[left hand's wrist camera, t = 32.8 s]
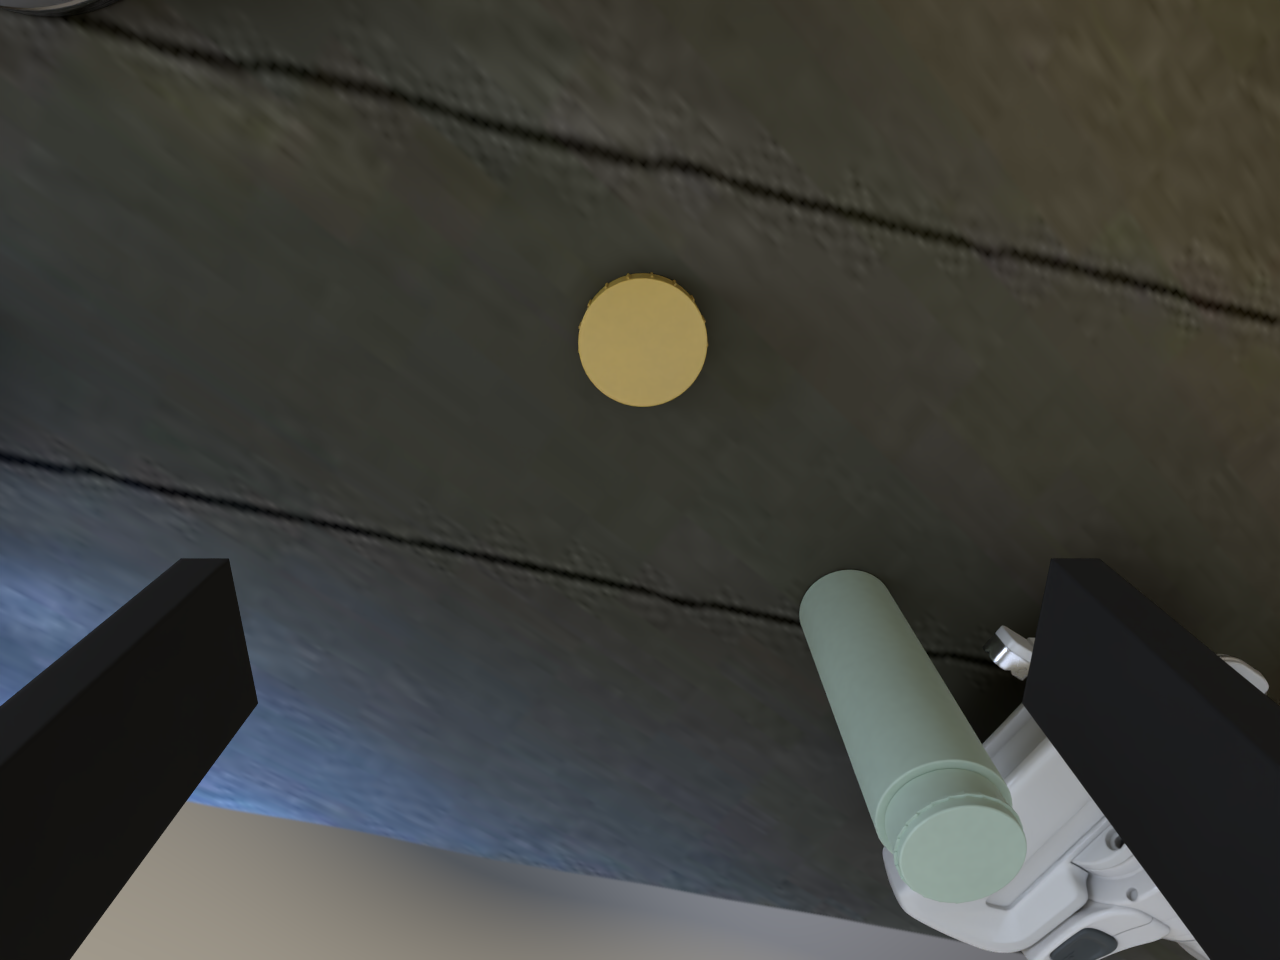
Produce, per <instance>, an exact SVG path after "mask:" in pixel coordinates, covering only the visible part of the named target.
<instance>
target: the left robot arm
mask: <svg viewBox="0 0 1280 960" xmlns="http://www.w3.org/2000/svg"><path fill="white" fill-rule="evenodd" d="M116 1H118V0H0V9H4V10H8V11H12V12H17V13H21V14H27V15H35V16H53V17H60V16H70V15H78V14H82V13H87V12H91V11H94V10H97V9H100V8H103V7H106V6H108V5H110V4H112V3H114V2H116ZM257 704H258V701H257V696H256V691H255V686H254V681H253V676H252V671H251V666H250V661H249V656H248V651H247V646H246V641H245V636H244V631H243V626H242V621H241V616H240V611H239V606H238V602H237V597H236V592H235V587H234V582H233V577H232V572H231V567H230V562H229V559H180V560H179V561H177V562H176V563H175V564H174V565H172V566H171V567H170V568H169V569H168V570H166V571H165V572H164V573H163V574H161V575H160V576H159V577H158V578H157V579H155V580H154V581H153V582H152V583H150V584H149V585H148V586H147V587H146V588H144V589H143V590H142V591H141V592H139V593H138V594H137V595H136V596H135V597H133V598H132V599H131V600H130V601H128V602H127V603H126V604H125V605H124V606H122V607H121V608H120V609H119V610H117V611H116V612H115V613H114V614H113V615H111V616H110V617H109V618H108V619H106V620H105V621H104V622H103V623H102V624H100V625H99V626H98V627H97V628H95V629H94V630H93V631H92V632H91V633H89V634H88V635H87V636H86V637H84V638H83V639H82V640H81V641H80V642H78V643H77V644H76V645H75V646H73V647H72V648H71V649H70V650H69V651H67V652H66V653H65V654H64V655H62V656H61V657H60V658H59V659H58V660H56V661H55V662H54V663H53V664H51V665H50V666H49V667H48V668H47V669H45V670H44V671H43V672H42V673H40V674H39V675H38V676H37V677H36V678H34V679H33V680H32V681H31V682H29V683H28V684H27V685H26V686H25V687H23V688H22V689H21V690H20V691H18V692H17V693H16V694H15V695H14V696H12V697H11V698H10V699H9V700H7V701H6V702H5V703H4V704H3V705H1V706H0V960H70V959H71V957H72V956H73V955H74V953H75V952H76V951H77V949H78V948H79V947H80V945H81V944H82V942H83V941H84V940H85V938H86V937H87V936H88V934H89V933H90V932H91V930H92V929H93V927H94V926H95V925H96V923H97V922H98V921H99V919H100V918H101V917H102V915H103V914H104V912H105V911H106V910H107V908H108V907H109V906H110V904H111V903H112V902H113V900H114V899H115V897H116V896H117V895H118V893H119V892H120V891H121V889H122V888H123V887H124V885H125V884H126V883H127V881H128V880H129V878H130V877H131V876H132V874H133V873H134V872H135V870H136V869H137V868H138V866H139V865H140V863H141V862H142V861H143V859H144V858H145V857H146V855H147V854H148V853H149V851H150V850H151V848H152V847H153V846H154V844H155V843H156V842H157V840H158V839H159V838H160V836H161V835H162V833H163V832H164V831H165V829H166V828H167V827H168V825H169V824H170V823H171V821H172V820H173V818H174V817H175V816H176V814H177V813H178V812H179V810H180V809H181V808H182V806H183V805H184V803H185V802H186V801H187V799H188V798H189V797H190V795H191V794H192V793H193V791H194V790H195V788H196V787H197V786H198V784H199V783H200V782H201V780H202V779H203V778H204V776H205V775H206V774H207V772H208V771H209V769H210V768H211V767H212V765H213V764H214V763H215V761H216V760H217V759H218V757H219V756H220V754H221V753H222V752H223V750H224V749H225V748H226V746H227V745H228V744H229V742H230V741H231V739H232V738H233V737H234V735H235V734H236V733H237V731H238V730H239V729H240V727H241V726H242V724H243V723H244V722H245V720H246V719H247V718H248V716H249V715H250V714H251V712H252V711H253V709H254V708H255V707H256V705H257ZM1022 704H1023V705H1024V707H1025V708H1026V709H1027V711H1028V712H1029V714H1030V715H1031V716H1032V718H1033V719H1034V720H1035V722H1036V723H1037V724H1038V726H1039V727H1040V729H1041V730H1042V731H1043V733H1044V734H1045V735H1046V737H1047V738H1048V739H1049V741H1050V742H1051V744H1052V745H1053V746H1054V748H1055V749H1056V750H1057V752H1058V753H1059V754H1060V756H1061V757H1062V759H1063V760H1064V761H1065V763H1066V764H1067V765H1068V767H1069V768H1070V769H1071V771H1072V772H1073V774H1074V775H1075V776H1076V778H1077V779H1078V780H1079V782H1080V783H1081V784H1082V786H1083V787H1084V788H1085V790H1086V791H1087V793H1088V794H1089V795H1090V797H1091V798H1092V799H1093V801H1094V802H1095V803H1096V805H1097V806H1098V808H1099V809H1100V810H1101V812H1102V813H1103V814H1104V816H1105V817H1106V818H1107V820H1108V821H1109V823H1110V824H1111V825H1112V827H1113V828H1114V829H1115V831H1116V832H1117V833H1118V835H1119V836H1120V838H1121V839H1122V840H1123V842H1124V843H1125V844H1126V846H1127V847H1128V848H1129V850H1130V851H1131V853H1132V854H1133V855H1134V857H1135V858H1136V859H1137V861H1138V862H1139V863H1140V865H1141V866H1142V868H1143V869H1144V870H1145V872H1146V873H1147V874H1148V876H1149V877H1150V878H1151V880H1152V881H1153V883H1154V884H1155V885H1156V887H1157V888H1158V889H1159V891H1160V892H1161V893H1162V895H1163V896H1164V897H1165V899H1166V900H1167V902H1168V903H1169V904H1170V906H1171V907H1172V908H1173V910H1174V911H1175V912H1176V914H1177V915H1178V917H1179V918H1180V919H1181V921H1182V922H1183V923H1184V925H1185V926H1186V927H1187V929H1188V930H1189V932H1190V933H1191V934H1192V936H1193V937H1194V938H1195V940H1196V941H1197V942H1198V944H1199V945H1200V947H1201V948H1202V949H1203V951H1204V952H1205V953H1206V955H1207V956H1208V957H1209V959H1210V960H1280V706H1279V705H1277V704H1276V703H1275V702H1274V701H1273V700H1271V699H1270V698H1269V697H1268V696H1266V695H1265V694H1264V693H1263V692H1262V691H1260V690H1259V689H1258V688H1257V687H1255V686H1254V685H1253V684H1252V683H1251V682H1249V681H1248V680H1247V679H1246V678H1244V677H1243V676H1242V675H1241V674H1240V673H1238V672H1237V671H1236V670H1235V669H1233V668H1232V667H1231V666H1230V665H1229V664H1227V663H1226V662H1225V661H1224V660H1222V659H1221V658H1220V657H1219V656H1218V655H1216V654H1215V653H1214V652H1213V651H1211V650H1210V649H1209V648H1208V647H1207V646H1205V645H1204V644H1203V643H1202V642H1200V641H1199V640H1198V639H1197V638H1196V637H1194V636H1193V635H1192V634H1191V633H1189V632H1188V631H1187V630H1186V629H1185V628H1183V627H1182V626H1181V625H1180V624H1178V623H1177V622H1176V621H1175V620H1174V619H1172V618H1171V617H1170V616H1169V615H1167V614H1166V613H1165V612H1164V611H1163V610H1161V609H1160V608H1159V607H1158V606H1156V605H1155V604H1154V603H1153V602H1152V601H1150V600H1149V599H1148V598H1147V597H1145V596H1144V595H1143V594H1142V593H1141V592H1139V591H1138V590H1137V589H1136V588H1134V587H1133V586H1132V585H1131V584H1130V583H1128V582H1127V581H1126V580H1125V579H1123V578H1122V577H1121V576H1120V575H1119V574H1117V573H1116V572H1115V571H1114V570H1112V569H1111V568H1110V567H1109V566H1108V565H1106V564H1105V563H1104V562H1103V561H1101V560H1100V559H1051V562H1050V567H1049V572H1048V577H1047V582H1046V587H1045V592H1044V597H1043V601H1042V606H1041V611H1040V616H1039V621H1038V626H1037V631H1036V636H1035V641H1034V646H1033V651H1032V656H1031V661H1030V666H1029V671H1028V676H1027V681H1026V686H1025V691H1024V696H1023V701H1022Z"/></svg>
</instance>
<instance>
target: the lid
mask: <svg viewBox="0 0 1280 960" xmlns="http://www.w3.org/2000/svg"><path fill="white" fill-rule="evenodd" d="M694 301H695V300H694V298H693V296H692V295H691V296H690V295H689V293H688V292H686V291H685V290H684V289H683V288H682V287H681V286H680V285H678V284H677V283H676V281H675V280H673V281H672V280H670V279H668V278H665V277H663V276H660V275H656V274H653V272H651V274H649V273H636V274H630V275H629V273H627V275H626V276H623V277H620V278H618V279H616V280H614V281H612V282H610V283H609V284H608V283H606V284H605V287H603V288H602V289H601V290H600V291H599V292H598V293H597V294H596V295H595V297H594V298H593V299H592V300H591V299H590V301H589V303H588V305H587V306H588V308H587V310H586V312H585V315H584V317H583V320H582V321H581V322H580V325H579V329H580V331H579V339H578V346H579V349H578V352H579V354H580V359H581V362H582V365H583V368H584V370H585V372H586V374H587V375H588V377H589V378H590V380H591V381H592V383H593V384H594V385H595V386H596V387H597V388H598V389H599V390H600V391H601V392H602V393H604V394H605V395H607V396H608V397H609V398H611V399H613V400H615V401H617V402H620V403H623V404H626V405H631V406H638V407H648V406H655V405H659V404H663V403H666V402H668V401H670V400H673V399H674V398H676V397H678V396H679V395H681V394H682V393H683V392H684V391H686V390H687V389H688V388H689V387H690V386H691V385H692V383H693V382H694V381H695V379H696V378H697V377H698V375H699V373H700V371H701V369H702V367H703V364H704V361H705V358H706V353H707V347H708V343H707V332H706V327H705V323H706V321H705V319H704V317H703V315H701V313H700V311H699V309H698V307H697V305H696V303H695V302H694Z"/></svg>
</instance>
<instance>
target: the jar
mask: <svg viewBox="0 0 1280 960" xmlns="http://www.w3.org/2000/svg"><path fill="white" fill-rule="evenodd" d="M799 617H800V623H801V626H802V629H803V632H804V634H805V637H806V640H807V642H808V645H809V648H810V651H811V653H812V656H813V659H814V662H815V664H816V667H817V670H818V673H819V675H820V678H821V681H822V684H823V686H824V689H825V692H826V695H827V697H828V700H829V703H830V706H831V708H832V711H833V714H834V717H835V719H836V722H837V725H838V728H839V730H840V733H841V736H842V739H843V741H844V744H845V747H846V749H847V752H848V755H849V758H850V760H851V763H852V766H853V769H854V771H855V774H856V777H857V780H858V782H859V785H860V788H861V791H862V793H863V796H864V799H865V802H866V804H867V807H868V810H869V813H870V815H871V818H872V821H873V824H874V826H875V829H876V832H877V835H878V837H879V839H880V841H881V842H882V844H883V845H884V846H885V847H886V849H888V850H889V851H890V852H891V853H892V854H893V858H894V864H895V867H896V869H897V871H898V873H899V875H900V878H901V879H902V880H903V881H904V882H905V883H906V884H907V885H908V886H909V887H910V889H911V890H913V891H915V892H917V893H919V894H920V895H922V896H923V897H925V898H929V899H932V900H935V901H939V902H946V903H956V904H958V903H964V902H970V901H975V900H978V899H982V898H984V897H987V896H989V895H991V894H993V893H995V892H997V891H999V890H1000V889H1002V888H1003V887H1005V886H1006V885H1007V884H1008V883H1010V882H1011V881H1012V880H1013V879H1014V877H1015V876H1016V875H1017V874H1018V872H1019V871H1020V869H1021V868H1022V866H1023V863H1024V861H1025V857H1026V853H1027V842H1026V837H1025V834H1024V831H1023V826H1022V823H1021V821H1020V818H1019V816H1018V814H1017V813H1016V812H1015V811H1014V809H1013V808H1012V797H1011V794H1010V791H1009V789H1008V787H1007V785H1006V783H1005V781H1004V780H1003V778H1002V776H1001V775H1000V773H999V771H998V770H997V768H996V767H995V765H994V763H993V762H992V760H991V758H990V757H989V755H988V753H987V752H986V750H985V748H984V747H983V745H982V744H981V742H980V740H979V739H978V737H977V735H976V734H975V732H974V730H973V729H972V727H971V725H970V724H969V722H968V721H967V719H966V717H965V716H964V714H963V712H962V711H961V709H960V707H959V706H958V704H957V703H956V701H955V699H954V698H953V696H952V694H951V693H950V691H949V689H948V688H947V686H946V684H945V683H944V681H943V680H942V678H941V676H940V675H939V673H938V671H937V670H936V668H935V666H934V665H933V663H932V661H931V660H930V658H929V657H928V655H927V653H926V652H925V650H924V648H923V647H922V645H921V643H920V642H919V640H918V638H917V637H916V635H915V634H914V632H913V630H912V629H911V627H910V625H909V624H908V622H907V620H906V619H905V617H904V615H903V614H902V612H901V611H900V609H899V607H898V606H897V604H896V602H895V601H894V599H893V597H892V596H891V594H890V592H889V591H888V589H887V588H886V586H885V585H884V584H883V583H882V582H881V581H880V580H879V579H878V578H876V577H875V576H873V575H871V574H869V573H866V572H863V571H858V570H841V571H836V572H833V573H830V574H828V575H826V576H824V577H822V578H820V579H819V580H817V581H816V582H815V583H814V584H813V585H812V586H811V587H810V588H809V589H808V591H807V592H806V594H805V595H804V597H803V599H802V602H801V605H800V611H799Z"/></svg>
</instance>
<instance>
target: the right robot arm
mask: <svg viewBox="0 0 1280 960" xmlns="http://www.w3.org/2000/svg"><path fill="white" fill-rule="evenodd" d="M1034 641H1035V638H1028V639H1025V638H1023V637H1022V636H1020V635H1019V634H1017V633H1015V632H1014V631H1012V630H1011V629H1009V628H1007V627H1006V626H1003V625H1002V626H1001V627H1000V628H999V629H998V630H997V631H996V633H995V634H994V635H993V636H992V637H991V638H990V640H989V641H988V642H987V643H986V644H985V645H984V646H983V649H984V650H985V651H986V652H987V653H989V657H990V658H991V660H992V661H993V662H994V663H995V664H997V665H998V666H999V667H1001V668H1002V669H1004V670H1009V671H1010V673H1011V674H1012V675H1014V676H1015V677H1017V678H1019V679H1020V680H1022V681H1023V680H1024V679H1025V678H1026V677H1027V676H1028V671H1029V666H1030V661H1031V656H1032V651H1033V646H1034ZM1216 655H1218V656H1219V657H1220V658H1221V659H1222V660H1224V661H1225V662H1226V663H1227V664H1229V665H1230V666H1231V667H1232V668H1233V669H1235V670H1236V671H1237V672H1238V673H1240V674H1241V675H1242V676H1243V677H1244V678H1246V679H1247V680H1248V681H1249V682H1251V683H1252V684H1253V685H1254V686H1255V687H1257V688H1258V689H1259V690H1260V691H1262V692H1263V693H1264V694H1265V695H1266V696H1267V690H1268V688H1269V685H1268V683H1267V681H1266V679H1265V678H1264V676H1263V675H1262V674H1261V673H1260V672H1259V671H1258V670H1256V669H1255V668H1253V667H1252V666H1250V665H1249V664H1247V663H1246V662H1244V661H1243V660H1241V659H1239V658H1237V657H1234V656H1230V655H1225V654H1216ZM982 745H983V747H984V748H985V750H986V752H987V753H988V755H989V757H990V758H991V760H992V762H993V763H994V765H995V767H996V768H997V770H998V771H999V773H1000V775H1001V776H1002V778H1003V780H1004V781H1005V783H1006V785H1007V787H1008V789H1009V791H1010V794H1011V797H1012V808H1013V809H1014V811H1015V812H1016V813H1017V814H1018V816H1019V818H1020V821H1021V823H1022V826H1023V831H1024V834H1025V837H1026V842H1027V853H1026V857H1025V861H1024V863H1023V866H1022V868H1021V869H1020V871H1019V872H1018V874H1017V875H1016V876H1015V877H1014V879H1013V880H1012V881H1011V882H1010V883H1008V884H1007V885H1006V886H1005V887H1003V888H1002V889H1000V890H999V891H997V892H995V893H993V894H991V895H989V896H987V897H984V898H982V899H978V900H975V901H970V902H964V903H958V904H956V903H946V902H939V901H935V900H932V899H929V898H925V897H923V896H922V895H920V894H919V893H917V892H915V891H913V890H911V889H910V887H909V886H908V885H907V884H906V883H905V882H904V881H903V880H902V879H901V878H900V875H899V873H898V871H897V869H896V867H895V864H894V858H893V854H892V853H891V852H890V851H889V850H888V849H886V847H885V846H884V848H883V860H884V864H885V868H886V872H887V875H888V878H889V882H890V884H891V887H892V889H893V892H894V894H895V896H896V898H897V900H898V902H899V904H900V906H901V907H902V908H903V909H904V911H905V912H906V913H908V914H909V915H910V916H912V917H913V918H915V919H917V920H918V921H920V922H922V923H924V924H926V925H928V926H930V927H932V928H933V929H936V930H938V931H940V932H942V933H944V934H946V935H948V936H951V937H953V938H955V939H957V940H960V941H962V942H965V943H967V944H970V945H972V946H975V947H978V948H980V949H983V950H987V951H991V952H998V953H1011V952H1017V951H1020V950H1021V951H1022V952H1023V954H1024V955H1025V957H1026V959H1027V960H1099V959H1102V958H1104V957H1106V956H1108V955H1111V954H1114V953H1116V952H1119V951H1121V950H1124V949H1127V948H1130V947H1134V946H1137V945H1141V944H1145V943H1149V942H1153V941H1156V940H1159V939H1161V938H1162V939H1166V940H1171V941H1175V942H1178V944H1179V945H1180V946H1181V947H1182V948H1184V949H1185V950H1186V951H1187V952H1188V953H1189V954H1191V955H1192V956H1194V957H1195V958H1196V959H1198V960H1210V959H1209V957H1208V956H1207V955H1206V953H1205V952H1204V951H1203V949H1202V948H1201V947H1200V945H1199V944H1198V942H1197V941H1196V940H1195V938H1194V937H1193V936H1192V934H1191V933H1190V932H1189V930H1188V929H1187V927H1186V926H1185V925H1184V923H1183V922H1182V921H1181V919H1180V918H1179V917H1178V915H1177V914H1176V912H1175V911H1174V910H1173V908H1172V907H1171V906H1170V904H1169V903H1168V902H1167V900H1166V899H1165V897H1164V896H1163V895H1162V893H1161V892H1160V891H1159V889H1158V888H1157V887H1156V885H1155V884H1154V883H1153V881H1152V880H1151V878H1150V877H1149V876H1148V874H1147V873H1146V872H1145V870H1144V869H1143V868H1142V866H1141V865H1140V863H1139V862H1138V861H1137V859H1136V858H1135V857H1134V855H1133V854H1132V853H1131V851H1130V850H1129V848H1128V847H1127V846H1126V844H1125V843H1124V842H1123V840H1122V839H1121V838H1120V836H1119V835H1118V833H1117V832H1116V831H1115V829H1114V828H1113V827H1112V825H1111V824H1110V823H1109V821H1108V820H1107V818H1106V817H1105V816H1104V814H1103V813H1102V812H1101V810H1100V809H1099V808H1098V806H1097V805H1096V803H1095V802H1094V801H1093V799H1092V798H1091V797H1090V795H1089V794H1088V793H1087V791H1086V790H1085V788H1084V787H1083V786H1082V784H1081V783H1080V782H1079V780H1078V779H1077V778H1076V776H1075V775H1074V774H1073V772H1072V771H1071V769H1070V768H1069V767H1068V765H1067V764H1066V763H1065V761H1064V760H1063V759H1062V757H1061V756H1060V754H1059V753H1058V752H1057V750H1056V749H1055V748H1054V746H1053V745H1052V744H1051V742H1050V741H1049V739H1048V738H1047V737H1046V735H1045V734H1044V733H1043V731H1042V730H1041V729H1040V727H1039V726H1038V724H1037V723H1036V722H1035V720H1034V719H1033V718H1032V716H1031V715H1030V714H1029V712H1028V711H1027V709H1026V708H1025V707H1024V705H1023V704H1022V703H1021V704H1020V705H1019V706H1018V707H1017V708H1016V709H1015V710H1014V711H1013V712H1012V713H1011V714H1010V716H1009V717H1008V718H1007V719H1006V720H1005V721H1004V722H1003V723H1002V724H1001V725H1000V726H999V727H998V728H997V729H996V730H995V731H994V732H993V733H992V734H991V735H990V736H989V737H988V739H987V740H986V741H985V742H984V743H983V744H982Z"/></svg>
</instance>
